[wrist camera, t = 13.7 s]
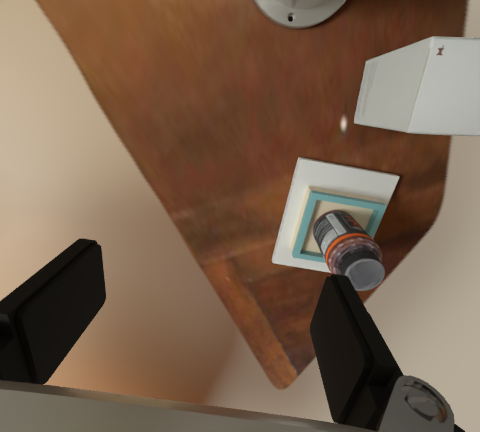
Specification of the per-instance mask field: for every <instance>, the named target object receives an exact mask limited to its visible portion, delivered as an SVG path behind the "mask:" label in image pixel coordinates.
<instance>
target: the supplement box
mask: <svg viewBox="0 0 480 432" xmlns="http://www.w3.org/2000/svg"><path fill="white" fill-rule="evenodd" d="M354 123H355V124H361V125H366V126H372V127H378V128H385V129H390V130H396V131H402V132H407V133H415V134H432V135H458V136H480V38H475V37H474V38H462V37H439V36H433V37H430V38H427V39H424V40H422V41H419V42H416V43H414V44H411V45H408V46H405V47H403V48H400V49H397V50H395V51H392V52H389V53H386V54H384V55H381V56H378V57H375V58H373V59H370V60H367V61H366V64H365V69H364V73H363V79H362V83H361V88H360V93H359V98H358V103H357V108H356V113H355V118H354Z"/></svg>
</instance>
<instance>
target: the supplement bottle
mask: <svg viewBox="0 0 480 432" xmlns="http://www.w3.org/2000/svg"><path fill="white" fill-rule="evenodd" d="M313 235H314V239H315V241H316V243H317V245H318V247H319V249H320V252H321V254H322V256H323V258H324V260H325V262H326V264H327V266H328V268H329V270H330V272H331V273H332V274H339V275H346V276H348V277H349V279H350V281H351V283H352V285H353V286H354V288H355V290H359V291H365V290H370V289H372V288H375V287H376V286H377V285H379V284H380V283H381V281H382V280H383V278H384V275H385V270H384V267H383V265H382V264H381V263H382V252H381V250H380V247H379V246H378V244H377V243H376V242H375V241H374V240H373V239H372V238H371V236H370V235H369V234H368V233H367V232H366V231H365V230H364V229H363V228H362V227H361V226H360V224H359V223H358V222H357V221H356V220H355V219H354V218H353V217H352V216H351V215H350V214H348V213H346V212H344V211H340V210H333V211H329V212H326V213H324V214H323V215H321V216H320V217H319V218H318V219H317V220H316V222H315V224H314V227H313Z"/></svg>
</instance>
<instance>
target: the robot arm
mask: <svg viewBox="0 0 480 432" xmlns="http://www.w3.org/2000/svg"><path fill="white" fill-rule="evenodd" d="M345 1H346V0H254V2H255V4H256V5H257V7H258V8H259V9H260V10H261V12H262V13H263V14H264V15H265V16H266V17H267V18H269V19H270V20H271V21H273V22H274V23H276V24H278V25H280V26H283V27H287V28H291V29H303V28H308V27H312V26H315V25H317V24H319V23H321V22H323V21H325V20H326V19H327V18H329V17H330V16H332V15H333V14H334V13H335V12H336V11H337V10H338V9H339V8H340V7H341V6H342V5H343V4H344V3H345ZM289 17H291V18H292V21H291V22H290V21H289V20H288V18H289ZM105 299H106V292H105V281H104V271H103V261H102V251H101V246H100V245H98V244H97V242H96V241H95V240H88V239H78V240H77V241H76V242H75V243H73V244H72V245H71V246H69V247H68V248H67V249H66V250H64V251H63V252H62V253H60V254H59V255H58V256H57V257H55V258H54V259H53V260H52V261H50V262H49V263H48V264H47V265H45V266H44V267H43V268H42V269H40V270H39V271H38V272H37V273H35V274H34V275H33V276H31V277H30V278H29V279H28V280H26V281H25V282H24V283H23V284H21V285H20V286H19V287H18V288H16V289H15V290H14V291H13V292H11V293H10V294H9V295H8V296H6V297H5V298H4V299H2V300H1V301H0V432H465V431H464V430H462V429H461V428H460V427H458V426H457V425H456V424H454V414H453V412H452V410H451V407H450V405H449V404H448V403H447V401H446V400H445V399H444V397H443V396H442V395H441V394H440V393H439V392H438V391H437V390H436V389H435V388H433V387H432V386H431V385H429V384H428V383H427V382H424V381H423V380H421V379H419V378H416V377H413V376H405V375H403V373H402V372H401V370H400V368H399V366H398V364H397V363H396V361H395V359H394V357H393V356H392V354H391V352H390V350H389V348H388V346H387V345H386V343H385V341H384V339H383V337H382V335H381V334H380V332H379V330H378V328H377V327H376V325H375V323H374V321H373V320H372V317H371V316H370V314H369V313H368V312H367V310H366V308H365V307H364V305H363V303H362V301H361V299H360V297H359V296H358V294H357V292H356V290H355V288H354V286H353V285H352V283H351V281H350V279H349V277H348V276H346V275H339V274H332V275H331V276H330V277H327V278H326V280H325V283H324V286H323V289H322V292H321V295H320V298H319V301H318V304H317V306H316V309H315V312H314V315H313V318H312V321H311V325H310V333H311V337H312V341H313V345H314V349H315V353H316V357H317V361H318V365H319V369H320V373H321V377H322V381H323V385H324V389H325V392H326V397H327V400H328V404H329V408H330V412H331V416H332V419H333V421H334V422H335V423H330V422H324V421H317V420H310V419H304V418H298V417H290V416H282V415H275V414H268V413H261V412H253V411H246V410H239V409H231V408H224V407H216V406H208V405H201V404H193V403H186V402H178V401H170V400H163V399H154V398H147V397H139V396H131V395H123V394H115V393H107V392H99V391H91V390H82V389H74V388H66V387H59V386H51V385H43V384H45V383H46V382H47V381H48V380H49V378H50V377H51V376H52V374H53V373H54V372H55V370H56V369H57V367H58V366H59V365H60V363H61V362H62V361H63V359H64V358H65V357H66V355H67V354H68V352H69V351H70V350H71V348H72V347H73V346H74V344H75V343H76V341H77V340H78V339H79V337H80V336H81V334H82V333H83V332H84V331H85V329H86V328H87V326H88V325H89V324H90V322H91V321H92V319H93V318H94V317H95V316H96V314H97V313H98V311H99V310H100V309H101V307H102V306H103V304H104V302H105ZM337 423H338V424H337Z"/></svg>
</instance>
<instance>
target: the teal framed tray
mask: <svg viewBox="0 0 480 432" xmlns="http://www.w3.org/2000/svg"><path fill="white" fill-rule="evenodd" d="M398 180H399V176H397V175H395V174H390V173H384V172H379V171H373V170H368V169H362V168H357V167H351V166H346V165H340V164H335V163H329V162H324V161H318V160H313V159H307V158H302V157H298V161H297V164H296V168H295V172H294V176H293V180H292V184H291V188H290V191H289V195H288V199H287V203H286V207H285V211H284V214H283V218H282V222H281V226H280V230H279V234H278V237H277V241H276V245H275V249H274V253H273V257H272V263H276V264H282V265H288V266H294V267H300V268H306V269H312V270H318V271H324V272H330V270H329V268H328V266H327V264H326V262H325V260H324V258H323V256H322V254H321V252H320V249H319V247H318V245H317V243H316V241H315V239H314V235H313V227H314V224H315V222H316V220H317V219H318V218H319V217H320V216H321V215H323V214H324V213H326V212H329V211H333V210H340V211H344V212H346V213H348V214H350V215H351V216H352V217H353V218H354V219H355V220H356V221H357V222H358V223H359V224H360V226H361V227H362V228H363V229H364V230H365V231H366V232H367V233H368V234H369V235H370V236H371V238H372V239H373V238H374V235H375V233H376V231H377V228H378V226H379V224H380V221H381V219H382V217H383V215H384V212H385V210H386V208H387V205H388V203H389V201H390V198H391V196H392V194H393V191H394V189H395V187H396V184H397V182H398ZM330 273H331V272H330Z"/></svg>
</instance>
